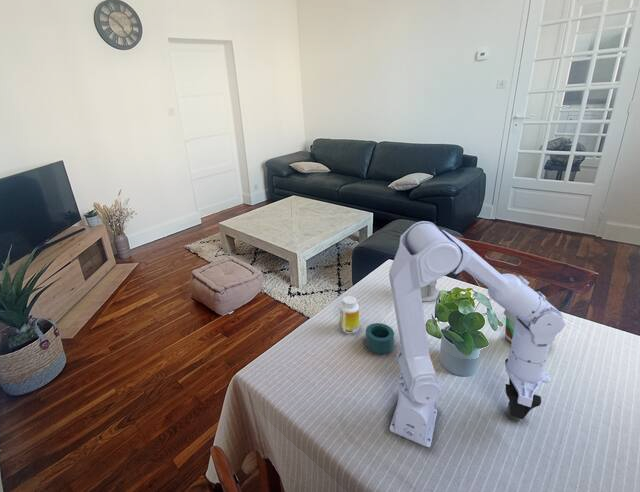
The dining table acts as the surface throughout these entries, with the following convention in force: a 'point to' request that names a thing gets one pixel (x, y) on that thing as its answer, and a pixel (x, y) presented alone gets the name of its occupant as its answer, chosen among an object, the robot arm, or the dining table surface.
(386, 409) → the dining table surface
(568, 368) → the dining table surface
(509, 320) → the food container
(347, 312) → the supplement bottle
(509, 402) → the brush
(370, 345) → the teal ring pot
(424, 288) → the french press
